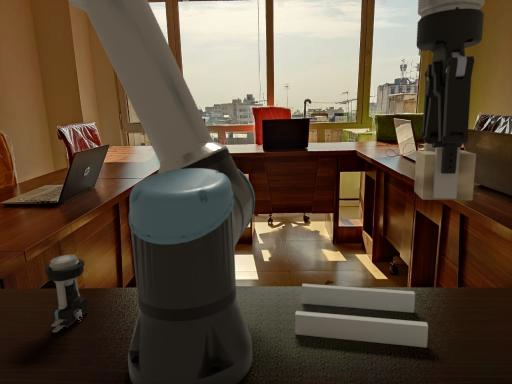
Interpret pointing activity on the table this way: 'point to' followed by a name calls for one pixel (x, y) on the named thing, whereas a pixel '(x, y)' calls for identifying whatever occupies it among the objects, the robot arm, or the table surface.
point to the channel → (356, 325)
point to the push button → (67, 289)
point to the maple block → (426, 175)
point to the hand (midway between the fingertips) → (437, 192)
